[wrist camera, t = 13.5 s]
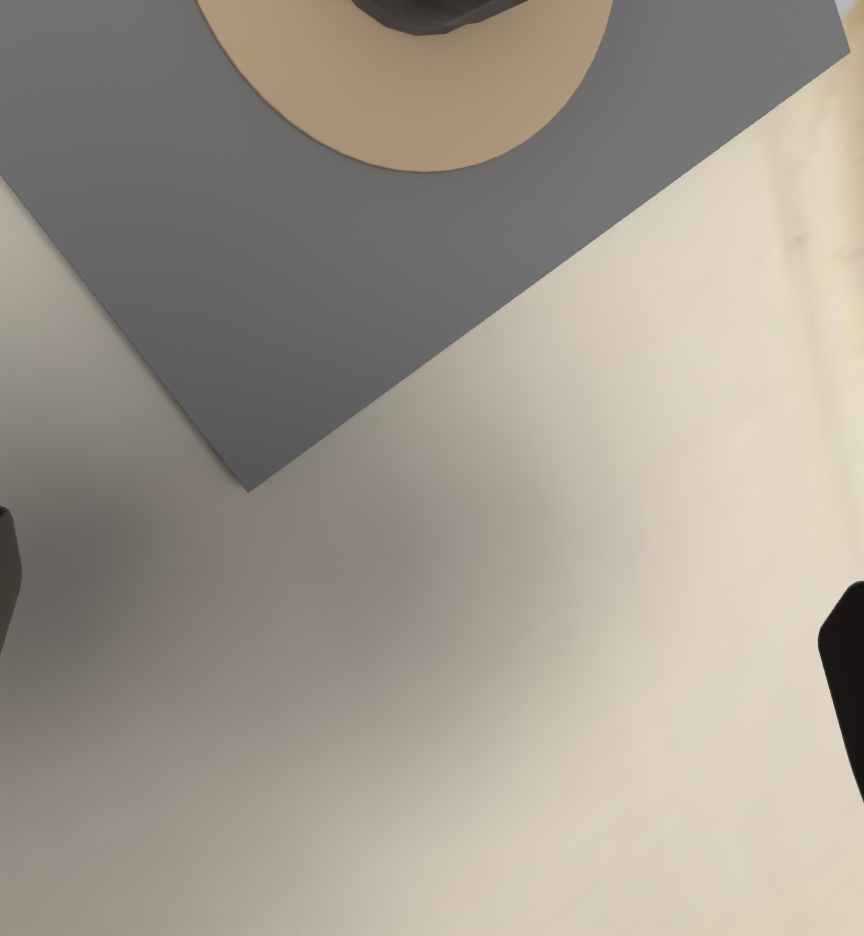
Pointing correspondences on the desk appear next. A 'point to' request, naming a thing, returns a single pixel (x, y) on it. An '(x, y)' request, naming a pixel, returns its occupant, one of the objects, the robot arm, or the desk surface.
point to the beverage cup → (432, 13)
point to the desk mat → (357, 173)
